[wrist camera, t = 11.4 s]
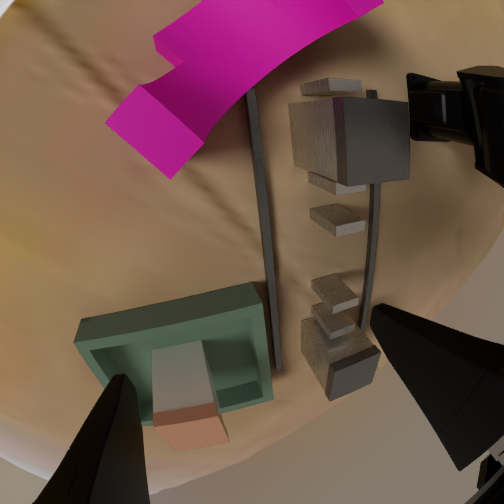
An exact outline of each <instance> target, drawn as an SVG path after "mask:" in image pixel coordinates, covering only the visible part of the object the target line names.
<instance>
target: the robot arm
mask: <svg viewBox="0 0 504 504" xmlns="http://www.w3.org/2000/svg"><path fill="white" fill-rule="evenodd" d="M456 72H457V75H458V78H459V79H460V82H454V81H440V80H437V79H433V78H430V77H426V76H422V75H419V74H415V73H408V74H407V75H406V78H407V88H408V99H409V115H410V136H411V139H412V140H417V141H442V142H450V141H455V142H459V143H463V144H467V145H471V146H474V153H475V161H476V162H475V168H476V169H477V170H478V171H480V172H482V173H483V174H485V175H486V176H488V177H489V178H490V179H492V180H493V181H495V182H496V183H498V184H499V185H500V186H502V187H503V188H504V68H502V67H499V66H475V67H471V68H467V69H463V70H460V71H456ZM411 77H412V79H411ZM370 327H371V329H372V331H373V333H374V335H375V337H376V338H377V340H378V342H379V344H380V346H381V348H382V349H383V351H384V353H385V355H386V357H387V358H388V360H389V361H390V363H391V364H392V366H393V367H394V369H395V370H396V372H397V373H398V375H399V376H400V378H401V379H402V381H403V382H404V384H405V385H406V387H407V388H408V390H409V391H410V393H411V394H412V396H413V397H414V398H415V400H416V402H417V404H418V405H419V407H420V408H421V410H422V411H423V413H424V414H425V416H426V417H427V419H428V421H429V422H430V424H431V426H432V427H433V429H434V430H435V432H436V434H437V435H438V437H439V439H440V441H441V442H442V444H443V445H444V447H445V449H446V450H447V452H448V454H449V455H450V457H451V459H452V461H453V462H454V464H455V466H456V468H457V469H458V470H459V471H461V470H463V469H464V468H465V467H467V466H468V465H469V464H471V463H472V462H473V461H474V460H476V459H477V458H478V457H480V456H481V455H482V454H483V453H484V452H486V451H487V450H488V451H489V452H490V454H489V455H488V456H487V457H486V458H485V459H484V460H483V461H482V462H481V465H480V472H479V477H478V483H477V488H478V489H479V491H478V492H477V493H476V494H475V495H474V496H473V497H472V498H470V499H469V500H468V501H467V502H466V503H465V504H504V345H502V344H499V343H494V342H490V341H487V340H484V339H480V338H477V337H474V336H471V335H468V334H466V333H463V332H460V331H458V330H455V329H452V328H449V327H447V326H444V325H441V324H438V323H436V322H433V321H430V320H428V319H425V318H422V317H420V316H417V315H414V314H411V313H409V312H406V311H403V310H401V309H398V308H395V307H392V306H390V305H387V304H384V303H381V304H378V305H376V306H374V307H373V308H372V313H371V319H370ZM32 504H150V499H149V492H148V484H147V476H146V466H145V456H144V443H143V430H142V424H141V418H140V412H139V405H138V398H137V392H136V389H135V387H134V385H133V383H132V382H131V380H130V379H129V377H128V376H127V374H125V373H119V374H114V375H113V377H112V378H111V380H110V381H109V383H108V384H107V386H106V388H105V389H104V391H103V392H102V394H101V396H100V397H99V399H98V400H97V402H96V404H95V405H94V407H93V409H92V410H91V412H90V414H89V415H88V417H87V419H86V420H85V422H84V424H83V425H82V427H81V429H80V430H79V432H78V434H77V436H76V437H75V439H74V441H73V442H72V444H71V446H70V450H68V451H67V453H66V455H65V456H64V458H63V460H62V462H61V463H60V465H59V467H58V468H57V470H56V471H55V473H54V474H53V476H52V477H51V479H50V480H49V482H48V483H47V485H46V486H45V487H44V489H43V490H42V492H41V493H40V495H39V496H38V498H37V499H36V500H35V501H34V502H33V503H32Z"/></svg>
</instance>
